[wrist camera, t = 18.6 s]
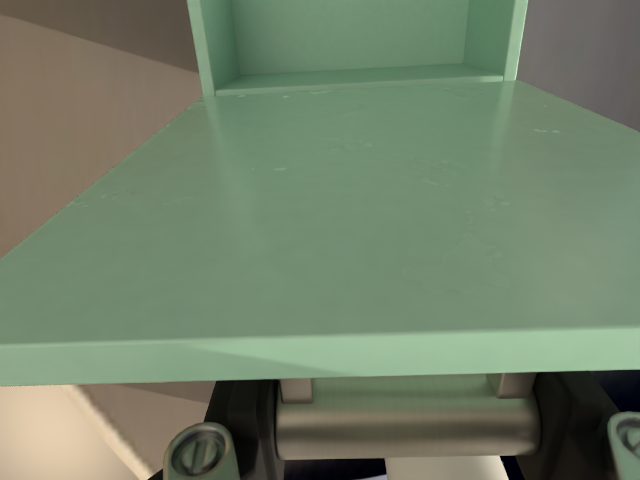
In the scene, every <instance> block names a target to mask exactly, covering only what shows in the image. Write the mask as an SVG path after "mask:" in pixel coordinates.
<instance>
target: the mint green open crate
mask: <svg viewBox="0 0 640 480" xmlns="http://www.w3.org/2000/svg"><path fill="white" fill-rule="evenodd" d="M527 3H528V0H187V5H188V11H189V16H190V22H191V28H192V34H193V39H194V45H195V51H196V57H197V62H198V68H199V74H200V80H201V85H202V91H203V97H212V96H231V95H250V94H269V93H288V92H308V91H327V90H346V89H365V88H384V87H403V86H422V85H441V84H460V83H479V82H498V81H515V80H516V73H517V67H518V60H519V54H520V48H521V41H522V35H523V28H524V22H525V16H526V9H527Z"/></svg>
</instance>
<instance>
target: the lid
mask: <svg viewBox="0 0 640 480" xmlns="http://www.w3.org/2000/svg"><path fill="white" fill-rule="evenodd" d="M632 369H640V132H638V131H636V130H633V129H631V128H629V127H626V126H624V125H622V124H619V123H617V122H615V121H613V120H610V119H608V118H606V117H603V116H601V115H599V114H596V113H594V112H592V111H589V110H587V109H585V108H582V107H580V106H578V105H576V104H573V103H571V102H569V101H566V100H564V99H562V98H559V97H557V96H555V95H552V94H550V93H548V92H545V91H543V90H541V89H539V88H536V87H534V86H532V85H529V84H527V83H525V82H522V81H520V80H518V81H498V82H479V83H460V84H441V85H422V86H403V87H384V88H365V89H346V90H327V91H308V92H288V93H269V94H250V95H231V96H212V97H200V98H199V99H198V100H196V101H195V102H194V103H193V104H192V105H190V106H189V107H188V108H187V109H185V110H184V111H183V112H182V113H180V114H179V115H178V116H177V117H175V118H174V119H173V120H172V121H170V122H169V123H168V124H167V125H165V126H164V127H163V128H162V129H160V130H159V131H158V132H157V133H155V134H154V135H153V136H152V137H151V138H149V139H148V140H147V141H146V142H144V143H143V144H142V145H141V146H139V147H138V148H137V149H136V150H134V151H133V152H132V153H131V154H129V155H128V156H127V157H126V158H124V159H123V160H122V161H121V162H119V163H118V164H117V165H116V166H115V167H113V168H112V169H111V170H110V171H108V172H107V173H106V174H105V175H103V176H102V177H101V178H100V179H98V180H97V181H96V182H95V183H93V184H92V185H91V186H90V187H88V188H87V189H86V190H85V191H83V192H82V193H81V194H80V195H78V196H77V197H76V198H75V199H74V200H72V201H71V202H70V203H69V204H67V205H66V206H65V207H64V208H62V209H61V210H60V211H59V212H57V213H56V214H55V215H54V216H52V217H51V218H50V219H49V220H47V221H46V222H45V223H44V224H42V225H41V226H40V227H39V228H38V229H36V230H35V231H34V232H33V233H31V234H30V235H29V236H28V237H26V238H25V239H24V240H23V241H21V242H20V243H19V244H18V245H16V246H15V247H14V248H13V249H11V250H10V251H9V252H8V253H6V254H5V255H4V256H3V257H1V258H0V386H32V385H33V386H34V385H72V384H109V383H146V382H184V381H221V380H258V379H278V381H277V386H276V393H275V406H274V436H275V447H276V453H277V456H278V458H279V459H281V460H295V459H347V458H398V457H449V456H500V455H532V454H534V453H536V452H537V451H538V449H539V447H540V444H541V438H542V423H541V415H540V409H539V405H538V401H537V398H536V395H535V392H534V390H533V384H534V381H535V378H536V374H537V372H557V371H594V370H632Z"/></svg>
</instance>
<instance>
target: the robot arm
mask: <svg viewBox="0 0 640 480" xmlns="http://www.w3.org/2000/svg"><path fill="white" fill-rule="evenodd" d="M277 381H278V379H258V380H221V381H216V384H215V387H214V390H213V393H212V396H211V400H210V403H209V406H208V409H207V412H206V416H205V419H204V422H203V423H198V424H195V425H192V426H190V427H188V428H186V429H184V430H183V431H182V432H180V433H179V434H177V436H176V437H175V438H174V439H173V440H172V441H171V442H170V444H169V446H168V448H167V449H166V451H165V455H164V460H163V469H161V470H160V471H159V472H157V473H156V474H155V475H153V476H152V477H150V478H149V479H148V480H283V476H284V466H285V460H281V459H279V458H278V456H277V453H276V447H275V436H274V406H275V393H276V386H277ZM533 390H534V392H535V395H536V398H537V401H538V405H539V409H540V415H541V423H542V438H541V444H540V447H539V449H538V451H537V452H536V453H534V454H532V455H515V457H516V460H517V462H518V464H519V466H520V469H521V471H522V473H523V476H524V478H525V480H640V413H635V412H622V413H621V412H620V411H619V410H618V408H617V407H616V406H615V405H614V403H613V402H612V401H611V399H610V398H609V397H608V395H607V394H606V393H605V391H604V390H603V389H602V387H601V386H600V385H599V383H598V382H597V381H596V379H595V378H594V377H593V375H592V374H591V373H590V372H589V371H557V372H537V374H536V378H535V381H534V384H533ZM385 463H386V470H387V478H388V480H509V479H508V477H507V474H506V472H505V469H504V467H503V464H502V462H501V459H500V457H499V456H449V457H398V458H385Z"/></svg>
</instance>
